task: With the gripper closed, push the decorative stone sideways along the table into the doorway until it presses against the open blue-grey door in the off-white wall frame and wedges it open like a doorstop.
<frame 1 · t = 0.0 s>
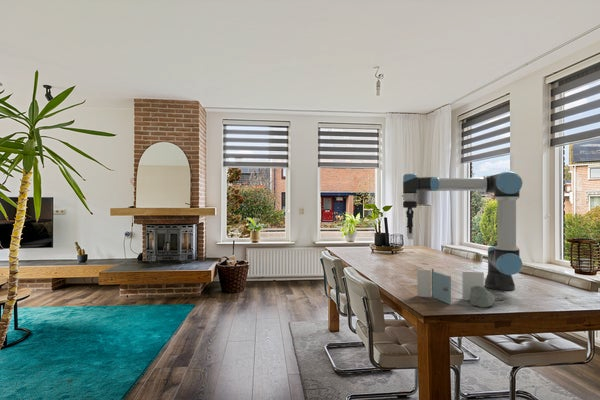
hand: (409, 238, 199), 28 cm above the table, fingers open, 13 cm apart
door: (440, 287, 171), point 7 cm above the table, hinge at 60.0°
wall: (450, 298, 176), on the table
decorative stone: (482, 305, 164), on the table
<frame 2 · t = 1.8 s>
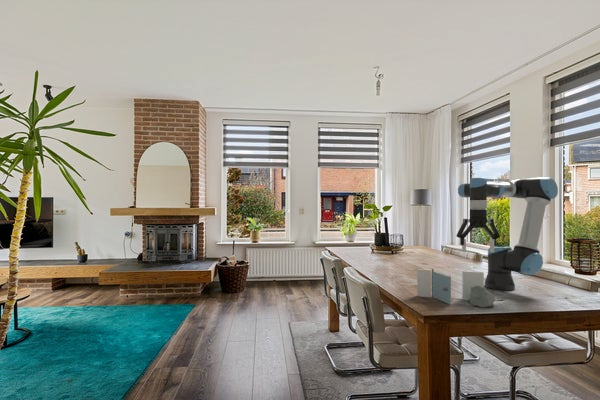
hand: (478, 252, 171), 24 cm above the table, fingers open, 13 cm apart
nothing on the table moved.
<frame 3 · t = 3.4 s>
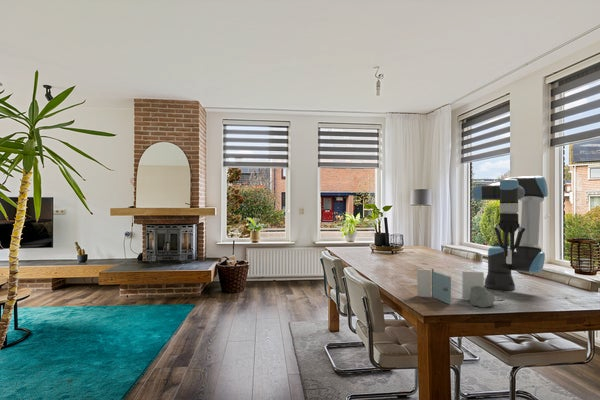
hand: (508, 263, 161), 20 cm above the table, fingers closed
nothing on the table moved.
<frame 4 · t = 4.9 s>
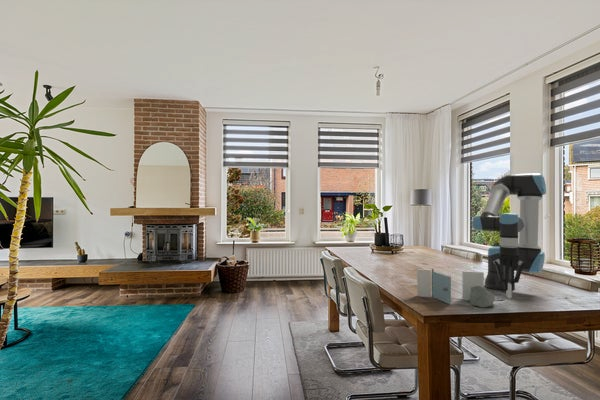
hand: (508, 297, 161), 5 cm above the table, fingers closed
nothing on the table moved.
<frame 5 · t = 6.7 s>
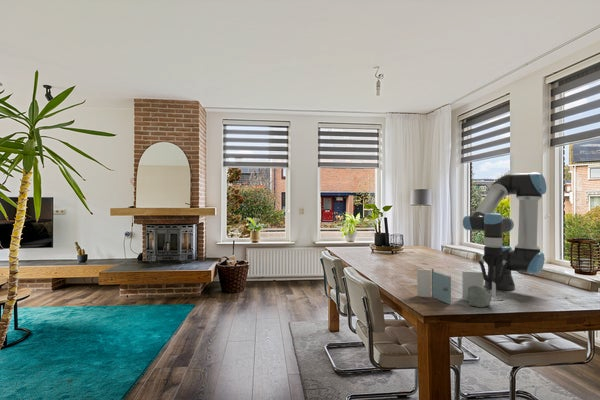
hand: (493, 296, 163), 4 cm above the table, fingers closed
decorative stone: (479, 305, 165), on the table, touching gripper
everything else where it was.
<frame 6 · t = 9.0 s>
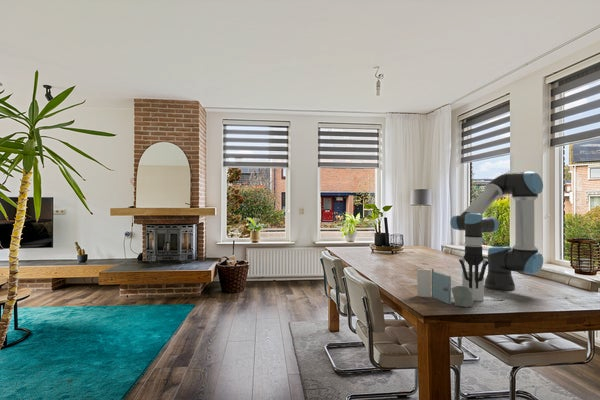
hand: (473, 295, 166), 4 cm above the table, fingers closed
decorative stone: (462, 305, 165), on the table
everything else where it was.
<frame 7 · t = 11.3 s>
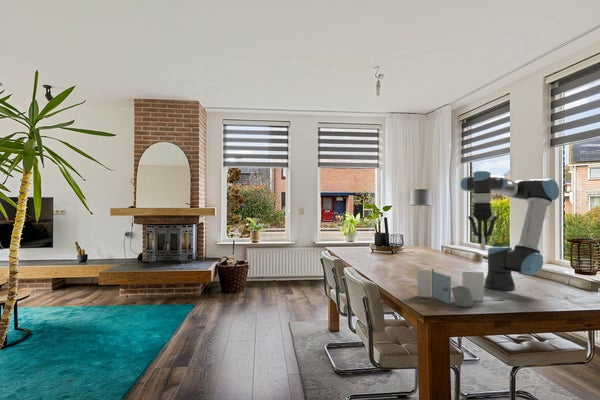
hand: (482, 249, 172), 25 cm above the table, fingers closed
nothing on the table moved.
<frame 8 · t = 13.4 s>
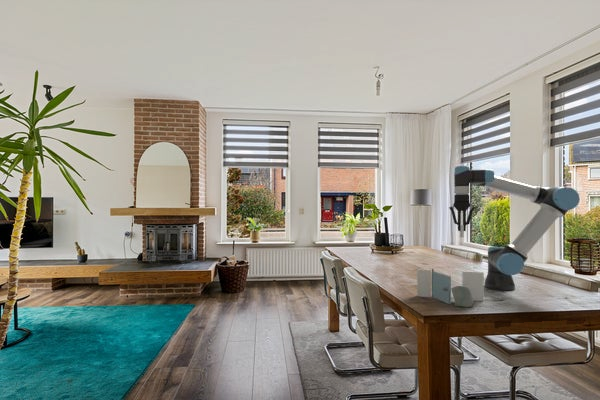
hand: (461, 237, 191), 29 cm above the table, fingers closed
nothing on the table moved.
at the end: decorative stone inside the target area (1.5 cm from its centre), on the table; door at +60° (first picture: +60°); decorative stone moved 9.2 cm from its start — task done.
